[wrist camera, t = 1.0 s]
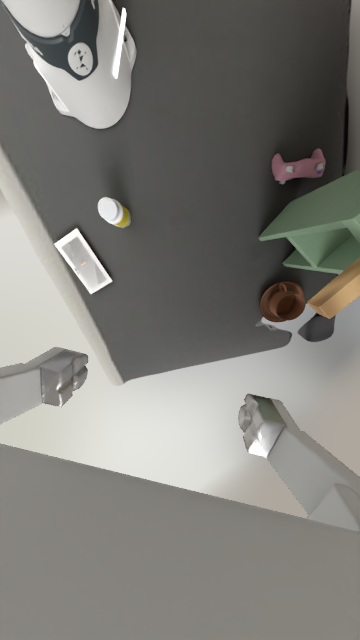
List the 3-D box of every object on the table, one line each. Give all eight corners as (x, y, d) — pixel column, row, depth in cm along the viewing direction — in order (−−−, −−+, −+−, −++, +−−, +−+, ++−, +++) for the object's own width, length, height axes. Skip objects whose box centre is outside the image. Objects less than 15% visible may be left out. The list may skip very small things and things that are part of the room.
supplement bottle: (132, 208, 41) (120, 197, 33) (130, 229, 42) (118, 224, 35) (112, 203, 40) (95, 192, 33) (112, 225, 42) (95, 219, 34)
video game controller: (265, 180, 39) (277, 187, 35) (271, 153, 36) (285, 156, 31) (308, 175, 39) (326, 181, 34) (319, 147, 35) (340, 150, 31)
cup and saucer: (249, 298, 48) (258, 304, 43) (287, 270, 45) (302, 273, 40) (270, 327, 52) (280, 336, 46) (307, 303, 49) (323, 309, 43)
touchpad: (79, 228, 43) (74, 227, 41) (114, 280, 47) (110, 281, 45) (57, 244, 44) (50, 243, 42) (92, 293, 49) (89, 294, 47)
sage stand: (284, 266, 45) (400, 282, 21) (257, 237, 42) (353, 218, 18) (317, 234, 42) (497, 209, 18) (290, 201, 39) (457, 121, 15)
